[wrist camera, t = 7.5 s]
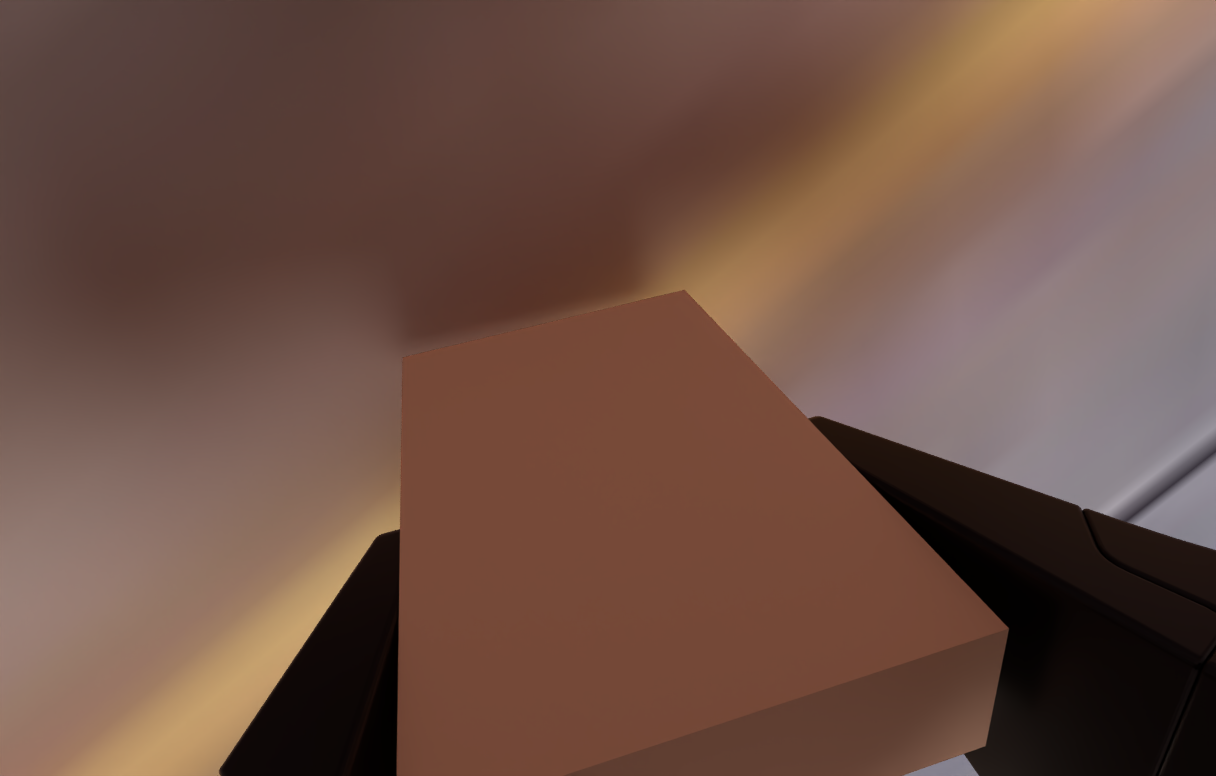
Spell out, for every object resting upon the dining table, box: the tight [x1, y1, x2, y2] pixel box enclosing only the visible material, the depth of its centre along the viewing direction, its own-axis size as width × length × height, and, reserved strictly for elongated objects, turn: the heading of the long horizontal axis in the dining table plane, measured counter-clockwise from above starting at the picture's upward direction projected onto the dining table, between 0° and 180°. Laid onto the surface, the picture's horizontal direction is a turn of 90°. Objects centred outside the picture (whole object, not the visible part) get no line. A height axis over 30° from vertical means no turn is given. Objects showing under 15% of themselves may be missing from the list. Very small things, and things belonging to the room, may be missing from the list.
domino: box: [397, 290, 1009, 776], centre depth 9 cm, size 5×2×8 cm, turn 99°
